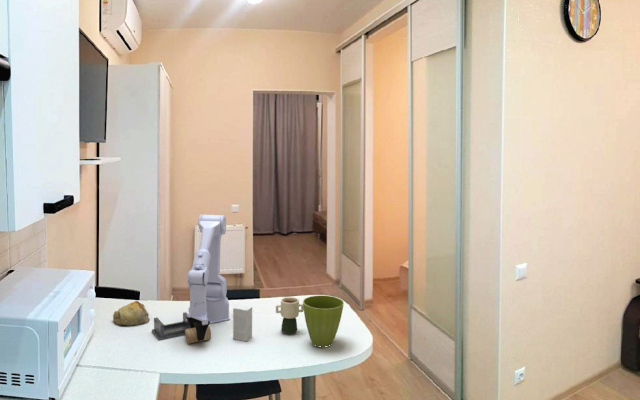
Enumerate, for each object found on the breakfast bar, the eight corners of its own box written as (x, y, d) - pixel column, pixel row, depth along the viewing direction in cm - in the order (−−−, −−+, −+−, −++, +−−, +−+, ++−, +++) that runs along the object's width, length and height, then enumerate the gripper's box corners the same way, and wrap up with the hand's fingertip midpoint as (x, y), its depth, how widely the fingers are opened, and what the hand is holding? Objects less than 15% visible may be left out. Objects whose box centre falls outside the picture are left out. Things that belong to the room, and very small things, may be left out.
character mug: (301, 328, 191) (302, 296, 190) (304, 335, 184) (305, 302, 183) (274, 329, 189) (274, 297, 187) (276, 336, 182) (277, 303, 180)
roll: (205, 336, 180) (205, 323, 180) (211, 341, 176) (211, 327, 175) (184, 340, 176) (184, 327, 175) (189, 345, 171) (189, 332, 171)
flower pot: (297, 337, 182) (298, 296, 180) (334, 333, 186) (336, 294, 184) (307, 354, 168) (308, 310, 166) (347, 350, 172) (349, 307, 170)
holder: (187, 324, 190) (187, 311, 190) (195, 332, 183) (195, 318, 182) (151, 332, 182) (151, 318, 182) (158, 340, 175) (158, 326, 174)
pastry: (156, 319, 196) (156, 300, 195) (133, 330, 184) (133, 310, 183) (130, 313, 201) (130, 294, 200) (106, 323, 190) (105, 303, 189)
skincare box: (252, 337, 181) (252, 306, 179) (247, 341, 177) (247, 310, 175) (238, 334, 183) (238, 304, 181) (232, 339, 179) (232, 308, 177)
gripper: (180, 297, 178) (180, 332, 179) (194, 309, 166) (194, 346, 168) (198, 294, 182) (198, 328, 183) (213, 305, 170) (213, 342, 172)
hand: (198, 337), depth 176 cm, fingers closed on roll, 5 cm apart
